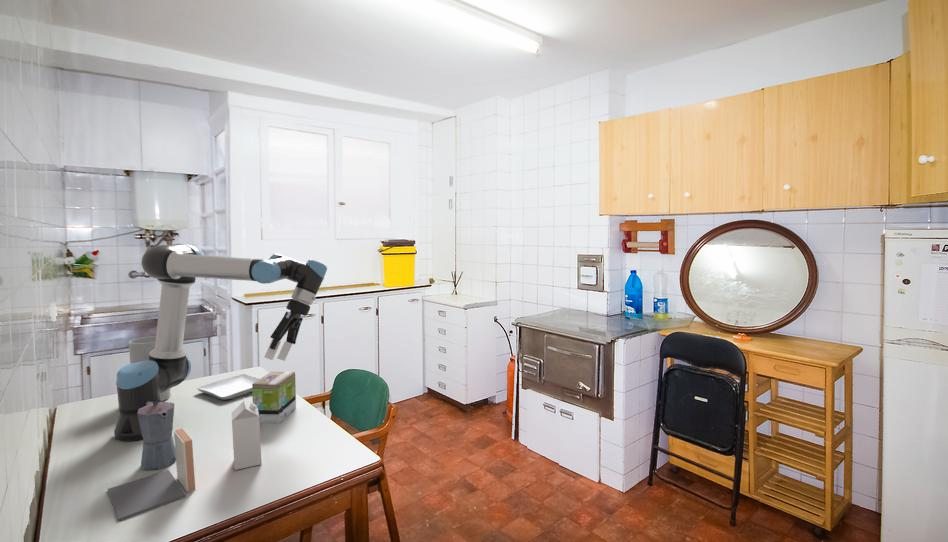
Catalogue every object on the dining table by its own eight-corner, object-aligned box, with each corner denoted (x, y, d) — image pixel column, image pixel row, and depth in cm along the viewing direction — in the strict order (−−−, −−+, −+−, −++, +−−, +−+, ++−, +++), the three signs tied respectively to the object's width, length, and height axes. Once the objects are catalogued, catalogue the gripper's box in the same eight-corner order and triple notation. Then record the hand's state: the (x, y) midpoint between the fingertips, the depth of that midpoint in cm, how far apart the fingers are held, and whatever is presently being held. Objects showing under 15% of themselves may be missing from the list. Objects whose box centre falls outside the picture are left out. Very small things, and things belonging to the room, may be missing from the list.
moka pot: (152, 477, 131) (147, 409, 129) (128, 463, 139) (122, 398, 137) (188, 462, 139) (184, 398, 137) (162, 449, 147) (158, 388, 145)
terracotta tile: (177, 478, 130) (173, 430, 129) (185, 475, 132) (182, 428, 130) (186, 492, 123) (183, 442, 122) (195, 489, 125) (192, 439, 123)
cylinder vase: (128, 401, 188) (123, 340, 186) (162, 392, 198) (158, 334, 196) (141, 408, 181) (136, 345, 178) (176, 398, 191) (171, 338, 189)
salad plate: (223, 404, 185) (222, 396, 185) (195, 394, 196) (195, 386, 196) (271, 389, 203) (271, 381, 202) (243, 380, 214) (243, 373, 214)
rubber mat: (107, 491, 124) (107, 489, 124) (168, 471, 134) (168, 469, 134) (118, 521, 112) (118, 518, 111) (185, 496, 121) (185, 494, 121)
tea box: (280, 424, 166) (278, 383, 164) (252, 424, 166) (250, 383, 165) (297, 407, 181) (295, 370, 179) (271, 407, 181) (269, 370, 180)
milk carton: (234, 470, 134) (231, 407, 132) (234, 460, 140) (231, 399, 139) (261, 464, 137) (258, 402, 136) (260, 454, 144) (257, 395, 142)
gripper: (301, 300, 153) (273, 362, 148) (318, 310, 177) (295, 363, 172) (280, 292, 153) (251, 354, 148) (300, 303, 177) (275, 356, 172)
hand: (274, 359), depth 160 cm, fingers open, 13 cm apart
